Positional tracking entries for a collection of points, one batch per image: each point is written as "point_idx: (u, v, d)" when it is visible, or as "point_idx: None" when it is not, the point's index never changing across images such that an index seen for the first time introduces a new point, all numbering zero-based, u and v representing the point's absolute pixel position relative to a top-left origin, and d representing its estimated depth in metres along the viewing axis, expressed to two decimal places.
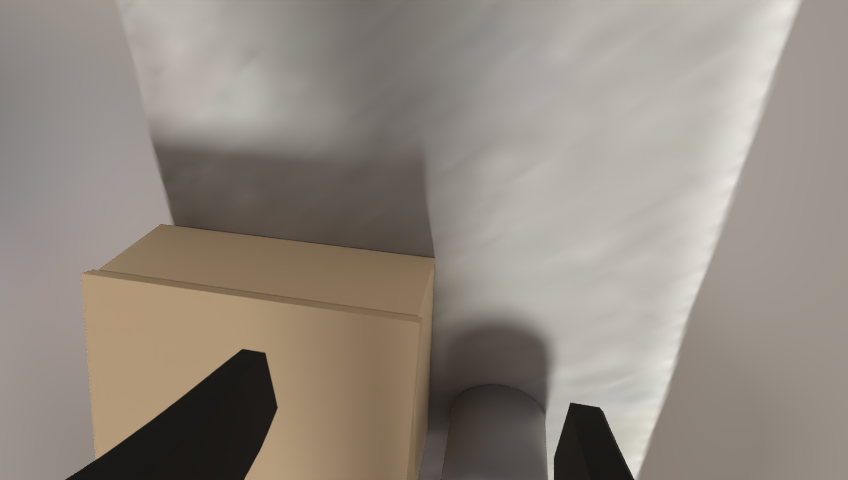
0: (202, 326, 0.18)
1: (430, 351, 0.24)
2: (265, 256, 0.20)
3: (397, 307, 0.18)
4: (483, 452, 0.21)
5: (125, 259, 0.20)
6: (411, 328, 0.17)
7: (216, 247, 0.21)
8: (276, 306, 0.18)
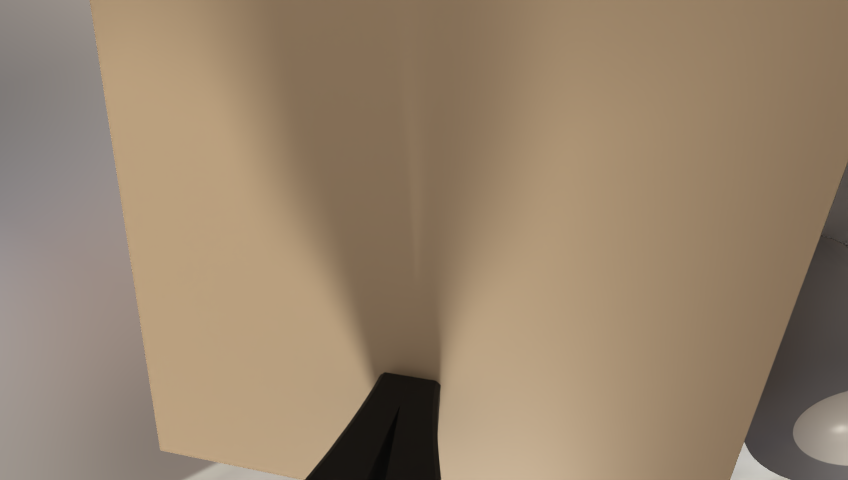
0: None
1: None
2: None
3: None
4: None
5: None
6: None
7: None
8: None
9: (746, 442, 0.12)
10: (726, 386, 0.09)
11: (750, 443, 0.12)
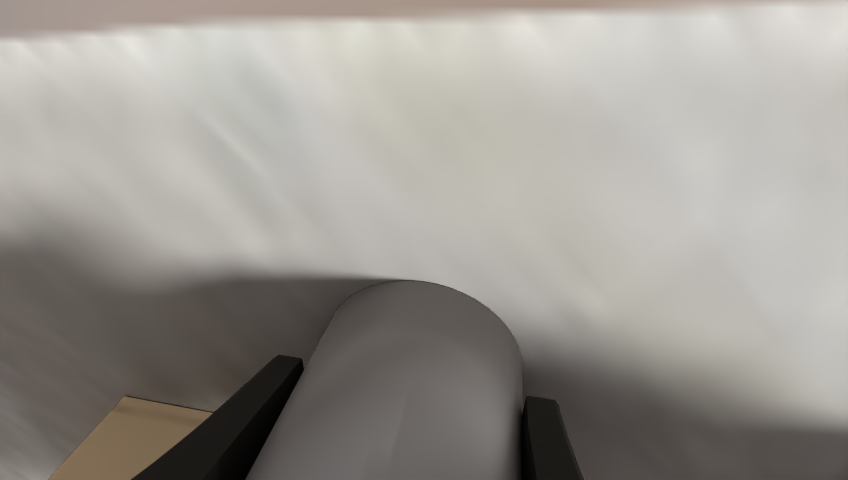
0: None
1: None
2: None
3: None
4: None
5: None
6: None
7: None
8: None
9: None
10: None
11: None
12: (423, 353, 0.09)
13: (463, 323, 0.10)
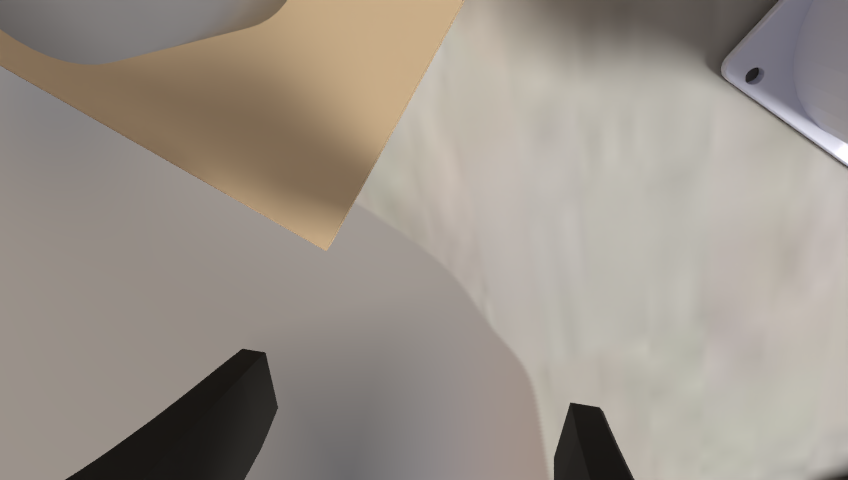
0: None
1: None
2: None
3: None
4: None
5: None
6: None
7: None
8: None
9: (108, 61, 0.08)
10: None
11: (110, 56, 0.08)
12: None
13: None
